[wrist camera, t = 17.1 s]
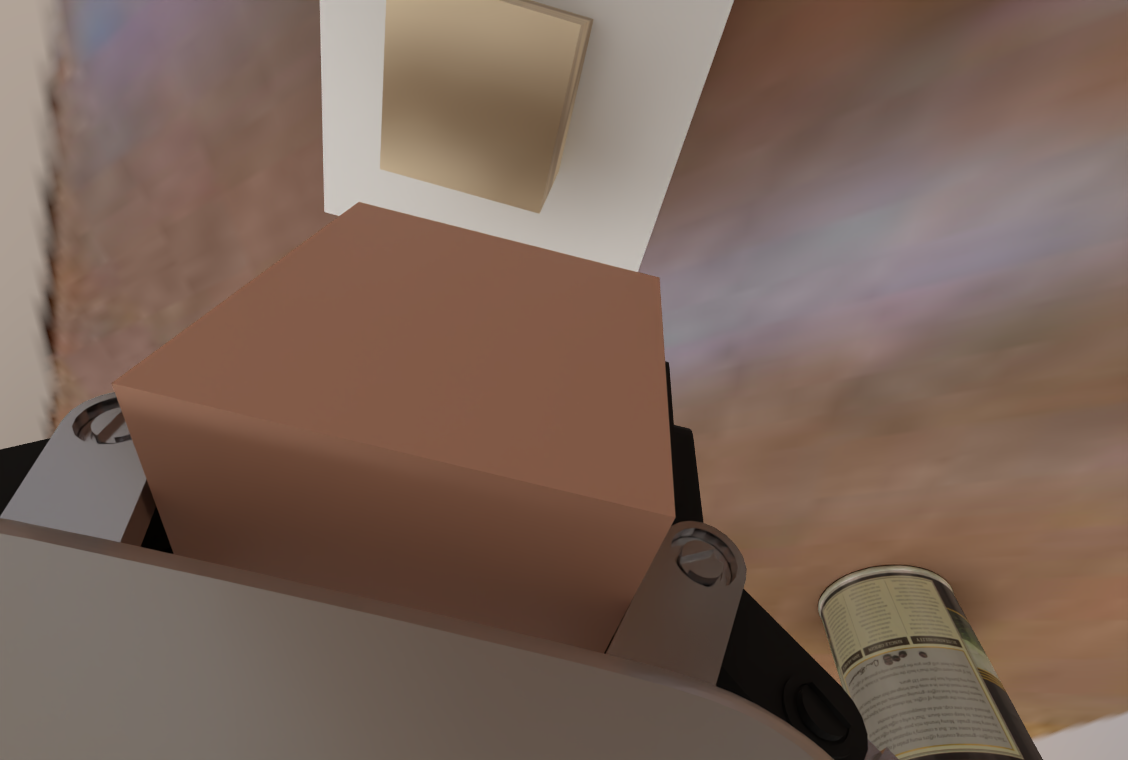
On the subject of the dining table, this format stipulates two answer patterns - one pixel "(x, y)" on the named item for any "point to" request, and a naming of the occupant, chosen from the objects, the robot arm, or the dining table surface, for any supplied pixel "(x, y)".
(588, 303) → the terracotta cube
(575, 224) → the grey base board
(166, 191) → the dining table surface
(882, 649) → the coffee can
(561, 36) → the brass cube
